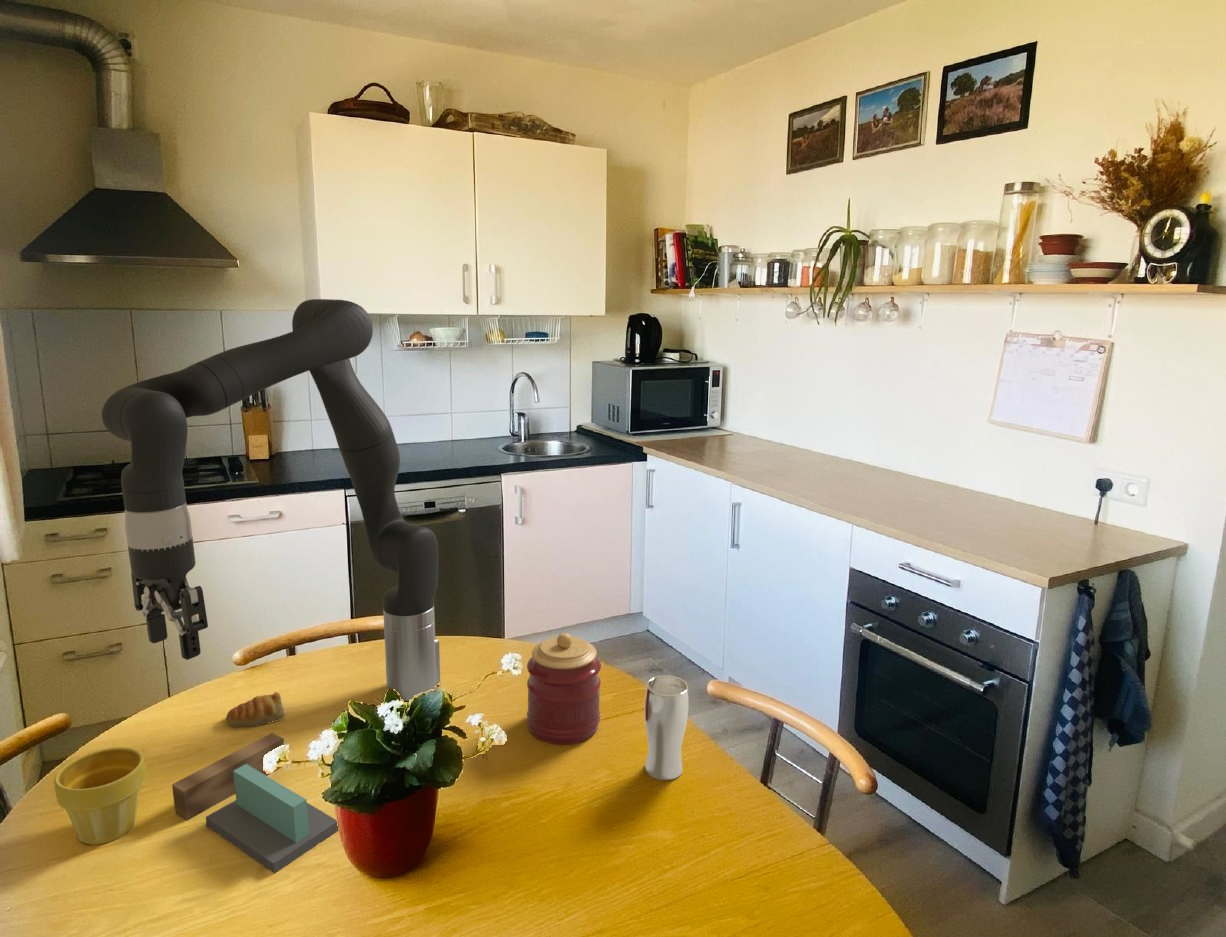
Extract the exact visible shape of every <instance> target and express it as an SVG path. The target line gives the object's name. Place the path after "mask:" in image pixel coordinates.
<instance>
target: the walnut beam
mask: <svg viewBox="0 0 1226 937" xmlns="http://www.w3.org/2000/svg"><path fill="white" fill-rule="evenodd" d="M281 745H284V746H285V739H284V737H281V736H279V735H278V734H276V733H273V732H270V733H269V734H266V735H264V736H263V737H261V738H259V739H256V740H255V741H253V742H251V743H249V744H247V745H245V746H243V747H241V748H240V749H238V750H236V751H234V752H232V753H230V754H228V755H226V756H224V757H222V758H220V759H218V760H216V761H214V762H213V763H211V764H208V765H207V766H205V767H202V768H201V769H199V770H197V771H195V772H193V773H191V774H190V775H189V774H188V775H187V776H185V777H184V778H181V779H179V780H177V781H176V782H174V783H172V784H171V788H172V796H173V805H174V813H175V814H176V815H177V816H179V817H180V818H182V819H183V820H185V821H186V822H188V821H190V820H192V819H193V818H194V817H197V816H199V815H200V814H203V813H204V812H206V811H207V810H210V809H211V808H213V807H214V806H216V805H218V804H220V803H222V802H223V801H225V800H226V799H229V798H231V797H232V796H234V795H236V794H235V784H234V774H233V771H234V770H236V769H238V768H239V767H241V766H243V765H245V764H247V765H249V766H251V767H252V768H254V769H256V770H257V771H259V772H261V773H262V774H264V775H266V776H269V775H270V774H266V772H265V771H263V757H264V755H265V754H267V753H268V752H269V751H272V750H273V749H275V748H277V747H279V746H281ZM282 768H283V767H277V769H276V771H278V770H280V769H282Z"/></svg>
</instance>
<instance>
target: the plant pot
mask: <svg viewBox="0 0 1226 937" xmlns="http://www.w3.org/2000/svg"><path fill="white" fill-rule="evenodd" d="M145 780H146V767H145V759H144V755H143V753H142V752H141V751H140V750H138V749H136V748H133V747H131V746H130V747H129V746H112V747H105V748H101V749H96V750H94V751H90V752H87V753H84V754H82V755H79V756H78V757H76V758H73V759H72V760H70V761H68V762H67V763H66V764H64V765H63V766H62V767H61V768H60V769H59V770H58V771H57V773H56V775H55V777H54V780H53V782H54V785H53V786H54V792H55V797H56V802H57V805H58V806H59V807H61V809H64V810H65V811H66V813H67V816H68V818H69V819H70V822H71V824H72V826H73V828H74V831H75V833H76V836H77V837H78V838H77V839H79V841H80V842H81V843H83V844H85V845H91V846H92V845H101V844H106V843H109V842H113V841H115V840H118V839H119V838H121V837H122V836H124V835H126V834H127V833H128V832H129V831H130V830H131V829H132V828H134V827H133V826H134V825H135V823H136V822H135V821H136V815H137V808H138V801H139V795H140V794H139V793H140V788H141V787H142V786H143V784H144V782H145Z"/></svg>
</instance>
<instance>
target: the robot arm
mask: <svg viewBox="0 0 1226 937" xmlns="http://www.w3.org/2000/svg"><path fill="white" fill-rule="evenodd" d="M291 320H292V321H291V324H292V326H291V327H292V330H291V331H290V332H287V333H285V334H281V335H278V336H275V337H271V338H269V339H264V340H260V341H257V342H252V343H248V344H243V345H239V346H236V347H233V348H230V349H227V350H224V351H221V352H219V353H216V354H214V355H212V356H209V357H207V358H205V359H202V360H200V361H198V362H196V363H193V364H190V365H188V366H187V367H185V368H183V369H180V370H177V371H174V372H170V373H167V374H162V375H158V376H155V377H152V378H147V379H145V380H141V381H138V382H135V383H132V384H129V385H127V386H124V387H122V388H121V389H118V390H117V391H115V392H114V393H113V394H111V395H110V396H109V397H108V398H107V399H106V401H105V402H104V404H103V407H102V409H101V410H102V411H101V420H102V423H103V425H104V426H105V428H106V430H107V431H108V432H110V433H111V434H112V435H114V437H116V438H119V439H121V440H124V441H128V442H130V444H131V445H130V446H131V456H130V457H131V460H130V463H129V464H127V465H126V466H124V468H123V469H122V470H121V476H120V484H121V491H122V492H121V493H122V499H123V505H124V506H123V507H124V530H125V537H126V544H127V550H128V558H129V565H130V571H131V574H130V575H131V584H132V592H133V602H134V609H135V610H136V611H137V612H139V611H141V615H142V617H143V618H144V619H145V622H146V627H147V628H146V629H147V634H148V635H147V636H148V641H149V642H150V643H152V644H157V643H160V642H163V641H165V640H167V639H168V630H167V623H166V621H167V620H168V621H169V622H173V623H174V625H175V627H176V629H177V631H178V638H179V647H180V653H181V654H180V655H181V658H182V659H184V660H185V661H187V660H192V659H194V658H196V657H199V655H201V652H202V651H201V643H200V635H199V631H202V630H205V629H208V626H209V623H208V617H207V611H206V603H205V597H204V591H203V588H202V586H200V585H198V586H194V587H190V586H189V582H188V579H187V578H188V577H187V575H188V573H189V572H191V571H192V570H193V569H194V568H195V567H196V556H195V548H194V546H195V545H194V539H193V538H194V537H193V529H192V521H191V517H190V516H191V515H190V512H189V509H188V505H187V499H186V498H187V497H186V491H185V490H186V488H185V482H184V477H183V468H184V464H185V460H186V459H185V458H186V450H187V442H188V431H189V430H188V422H187V418H192V417H201V416H202V417H203V416H204V417H205V416H210V415H213V414H216V413H218V412H220V411H223V410H225V409H227V408H229V407H231V406H233V405H235V404H237V403H239V402H241V401H243V400H245V399H247V398H249V397H251V396H253V395H255V394H258V393H260V392H261V391H264V390H265V389H268V388H270V387H272V386H274V385H276V384H279V383H281V382H284V381H286V380H288V379H290V378H294V377H295V376H298V375H301V374H304V373H306V372H308V371H309V373H310V376H311V377H312V380H313V382H314V384H315V386H316V388H317V390H318V393H319V395H320V398H321V400H322V403H323V406H324V410H325V412H326V414H327V417H328V420H329V422H330V425H331V428H332V430H333V433H334V436H335V440H336V444H337V446H338V449H339V451H340V454H341V457H342V460H343V463H344V466H345V468H346V470H347V472H348V473H347V474H348V475H349V478H350V480H351V484H352V487H353V490H354V492H355V495H356V499H357V503H358V505H359V509H360V512H361V515H362V519H363V523H364V524H363V525H364V528H365V531H366V536H367V541H368V545H369V548H370V552H371V555H372V557H373V559H374V560H375V562H376V563H377V564H378V565H379V566H380V567H382V568H383V569H386V570H387V571H388V570H389V571H391V572H395V573H398V580H397V581H398V582H397V584H398V585H396V586H394V587H391V588H389V589H388V590H386V591H385V593H384V594H383V597H382V609H383V610H382V612H383V627H384V628H383V631H384V635H383V636H384V651H385V653H384V654H385V655H384V656H385V672H386V673H385V675H386V690H387V689H395V690H396V691H397V692H398V693H399V694H400V697H401V699H403V700H404V701H409V700H410V699H412V698H413V697H414V695H417V694H419V693H421V692H426V691H428V690H430V689H436V690H437V688H436V687H434V686H436V685H437V684H438V683H439V682H440V683H441V661H440V660H441V658H440V656H441V655H440V654H441V652H440V640H439V639H438V638H436V626H435V625H436V624H435V623H436V622H435V620H436V619H435V596H436V594H437V590H438V583H439V542H438V539H437V537H436V535H435V533H434V532H433V531H432V530H431V529H430V528H428V527H426V526H421V525H417V524H415V523H410V522H407V521H405V518H403V515H402V514H401V511H400V509H399V506H398V502H397V499H396V495H395V488H396V483H397V479H398V476H399V472H400V465H401V456H400V452H399V451H400V450H399V446H398V444H397V441H396V437H395V434H394V431H393V428H392V426H391V422H390V420H389V419H388V417H387V416H386V414H385V412H384V411H383V410H382V409H381V407H380V406H379V405H378V403H377V401H375V399H373V397H372V396H371V394H370V393H369V392H368V391H367V389H365V387H364V386H363V385H362V383H361V382H360V379H359V378H358V377H357V374H356V372H355V370H354V368H353V365H352V362H351V359H352V358H355V357H357V356H359V355H361V354H362V353H364V352H365V351H366V350H367V348H368V347H369V345H370V344H371V341H372V338H373V333H374V331H373V328H374V327H373V322H372V318H371V317H370V314H369V313H368V311H366V309H365V308H364V307H362V305H359V304H358V303H355V302H353V301H350V300H344V299H328V298H327V299H326V298H314V299H313V298H312V299H307V300H304V301H302V302H301V303H299V305H298V306H297V307H296V309H295V310H294V312H293V316H292V319H291ZM142 596H143V597H142ZM164 613H165V614H164ZM166 618H167V620H166ZM182 619H183V620H182Z"/></svg>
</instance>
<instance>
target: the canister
mask: <svg viewBox="0 0 1226 937" xmlns="http://www.w3.org/2000/svg"><path fill="white" fill-rule="evenodd" d="M597 654H598V653H597V649H596V647H595V646H594V645H592V644H591V643H589V642H587V641H586V640H585V639H583V638H580V637H577V636H572V635H570V634H569V633H567V632H563V633H560V634H558V635H557V636H552V637H549V638H547V639H545V640H543V641H541V642H540V643H538V644H536V645H535V646H534V647H533V648H532V651H531V657H530V658H529V660H528V661H527V664H526V669H527V672H528V673H529V677H528V679H527V681H526V685H527V712H526V717H527V718H526V721H527V724H528V729H529V732H530V733H531V734H532V736H534V738H536V739H539V740H541V741H543V742H545V743H549V744H554V745H571V744H576V743H580V742H583V741H586V740H587V739H589V738H591V737H593V735H595V733H596V732H597V731H598V728H599V724H600V721H601V711H600V710H601V709H600V695H601V694H600V691H601V686H602V685H601V682H602V681H601V678H600V676H599V673H600V672H601V670H602V663H601V660H600V659H599V657H597Z"/></svg>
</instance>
